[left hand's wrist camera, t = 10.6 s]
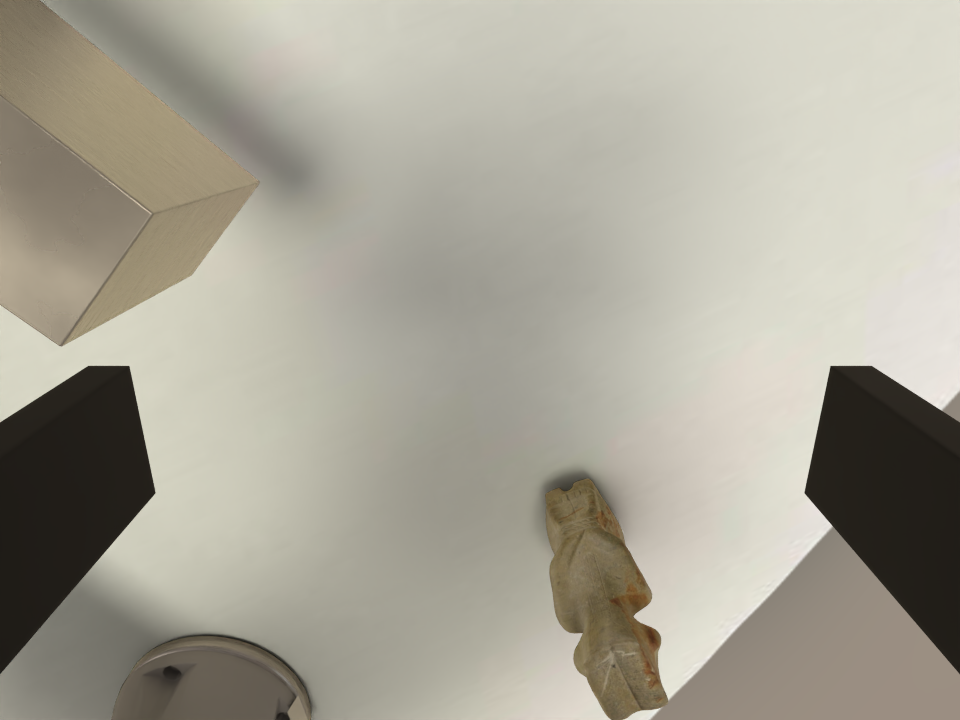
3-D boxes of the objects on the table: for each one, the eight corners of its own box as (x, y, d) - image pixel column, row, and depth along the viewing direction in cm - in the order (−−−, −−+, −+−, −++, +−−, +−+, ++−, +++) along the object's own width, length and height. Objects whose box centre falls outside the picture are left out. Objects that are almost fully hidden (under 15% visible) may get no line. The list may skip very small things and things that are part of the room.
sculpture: (556, 561, 49) (587, 743, 34) (526, 483, 46) (546, 644, 32) (631, 540, 48) (694, 716, 34) (604, 459, 45) (661, 613, 31)
